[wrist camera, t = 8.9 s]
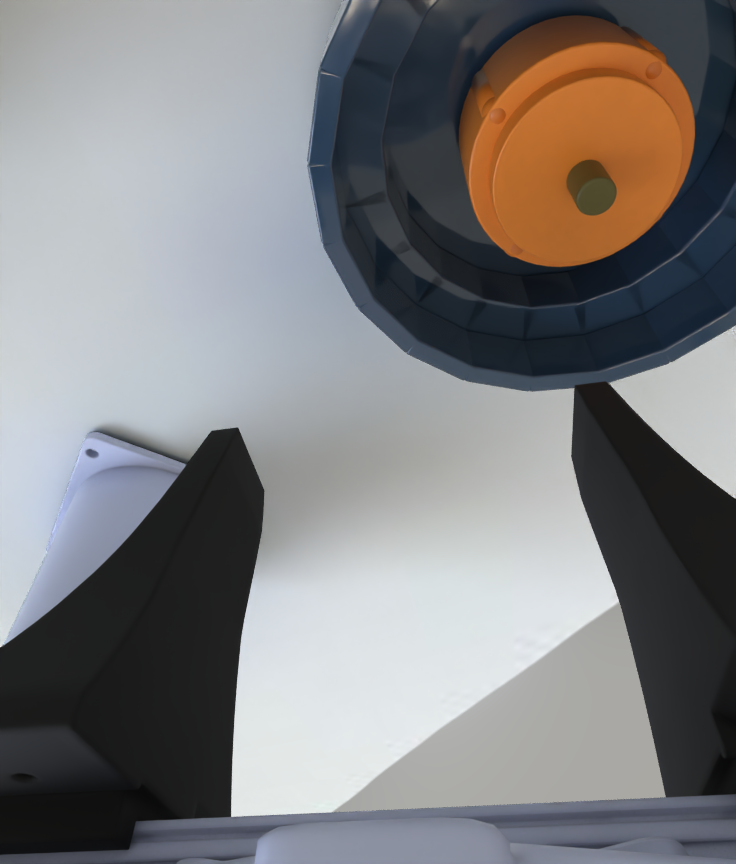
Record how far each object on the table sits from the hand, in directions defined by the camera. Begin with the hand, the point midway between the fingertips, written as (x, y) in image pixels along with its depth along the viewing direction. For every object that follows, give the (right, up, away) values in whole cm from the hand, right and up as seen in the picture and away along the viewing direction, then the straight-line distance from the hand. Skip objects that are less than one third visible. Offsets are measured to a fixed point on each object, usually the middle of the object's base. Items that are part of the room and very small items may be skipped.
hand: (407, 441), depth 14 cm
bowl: (+4, +9, +5) cm, 11 cm away
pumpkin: (+4, +9, +4) cm, 11 cm away
